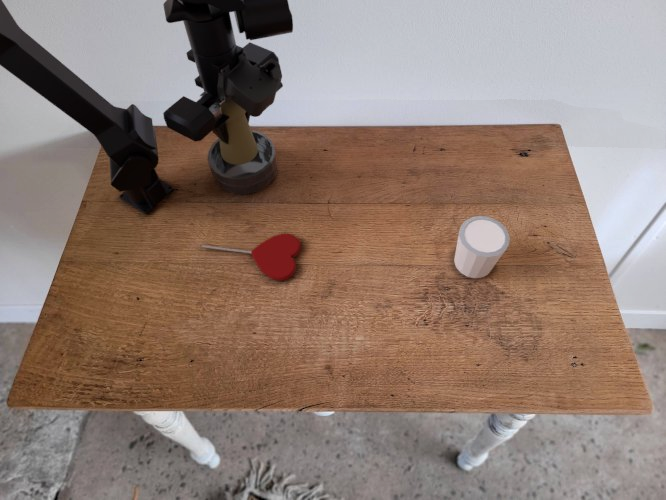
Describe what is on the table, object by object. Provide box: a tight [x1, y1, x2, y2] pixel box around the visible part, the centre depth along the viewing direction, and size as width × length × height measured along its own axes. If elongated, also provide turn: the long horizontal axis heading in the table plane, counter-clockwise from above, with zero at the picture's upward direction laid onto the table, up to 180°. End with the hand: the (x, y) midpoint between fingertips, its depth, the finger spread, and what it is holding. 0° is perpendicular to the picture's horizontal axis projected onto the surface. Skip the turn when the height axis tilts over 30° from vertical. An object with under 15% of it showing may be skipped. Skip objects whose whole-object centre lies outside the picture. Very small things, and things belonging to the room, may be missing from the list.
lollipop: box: [201, 233, 302, 281], centre depth 73 cm, size 8×1×15 cm
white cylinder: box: [453, 215, 511, 279], centre depth 69 cm, size 7×7×7 cm
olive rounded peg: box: [219, 99, 258, 165], centre depth 74 cm, size 6×6×11 cm
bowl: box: [206, 129, 279, 195], centre depth 81 cm, size 11×11×4 cm
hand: (235, 133), depth 76 cm, fingers closed on olive rounded peg, 4 cm apart
